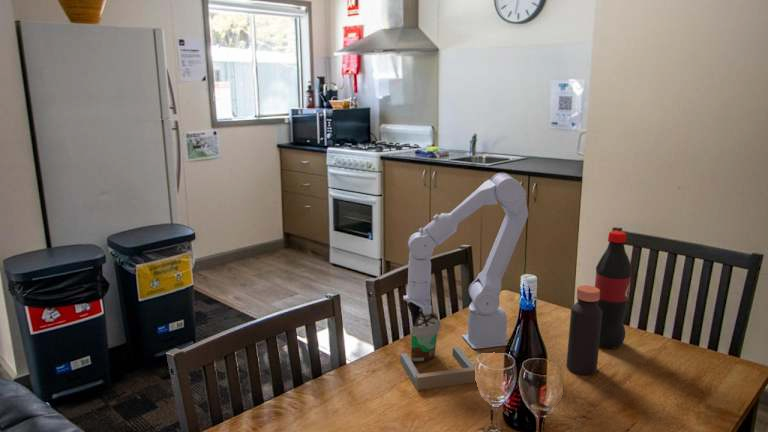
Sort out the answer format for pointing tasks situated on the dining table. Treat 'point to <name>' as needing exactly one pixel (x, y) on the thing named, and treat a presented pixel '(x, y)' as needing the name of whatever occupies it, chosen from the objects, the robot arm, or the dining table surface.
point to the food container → (424, 337)
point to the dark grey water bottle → (584, 331)
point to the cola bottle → (613, 290)
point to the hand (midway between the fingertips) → (417, 329)
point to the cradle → (441, 373)
